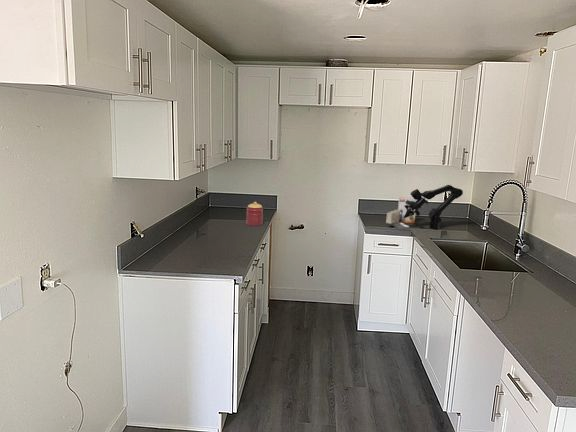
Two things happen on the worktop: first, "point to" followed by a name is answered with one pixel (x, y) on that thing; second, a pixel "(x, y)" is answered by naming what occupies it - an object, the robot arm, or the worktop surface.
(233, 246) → the worktop surface
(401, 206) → the cracker box
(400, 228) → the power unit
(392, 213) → the beige block
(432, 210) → the robot arm
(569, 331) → the worktop surface
